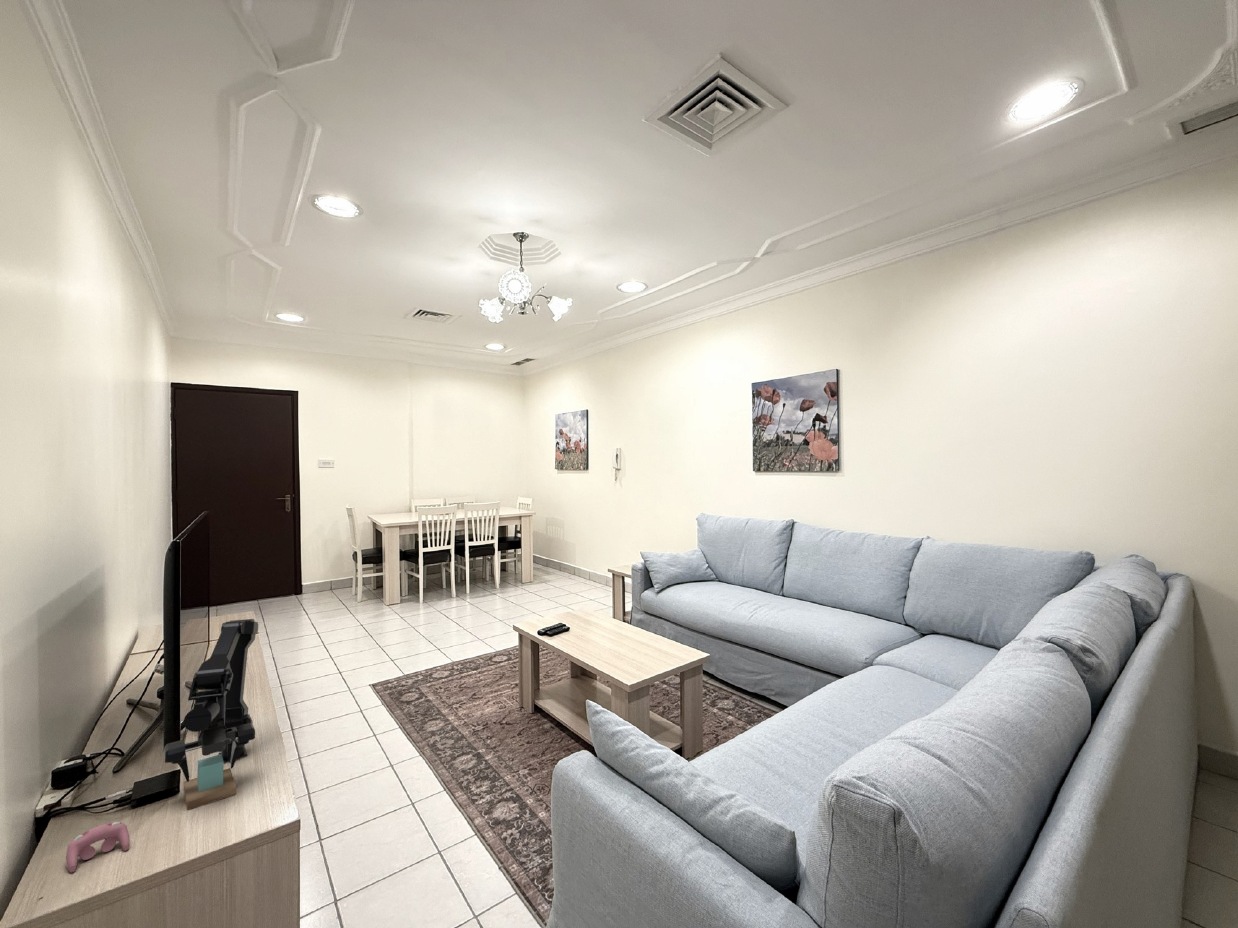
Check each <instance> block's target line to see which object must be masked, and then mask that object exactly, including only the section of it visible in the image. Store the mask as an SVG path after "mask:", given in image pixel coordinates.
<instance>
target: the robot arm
mask: <svg viewBox="0 0 1238 928" xmlns="http://www.w3.org/2000/svg"><path fill="white" fill-rule="evenodd" d="M258 632H259V622H258V621H255V619H254V618H249V619H248V618H247V619H246V618H244V619H234V620H233V619H232V620H228V621H225V622H222V623H221V628H220V635H219V637H218V639H217V641H216V644H215V645H214V648H213V650H212V652H211V656H210V657H209V658H208V659H206V660H205V661H203V662H202V663H201V664H200V666H199V668H198V670H197V671H196V672H195V673H194V675H193V678H192V682H191V686H190V690H189V694H188V698H187V701H195V702H194V703H193V707H192V708H191V709H190V710H189V711H188V712H187V713H186V715H185V717H184V719H183V726H184V728H185V729H186V730H188V731H190V732H196V733H197V740H195V741H191V742H188V743H186V742H185V739H181V740H177V741H173V742H172V741H171V742H169V743H166V744H165V745H164V748H163V757H164V763H166V764H167V763H169V764H170V763H171V764H172V765H176V764H177V765H178V766H179V768H180V769H181V770H182V774H183V775H184V778H185V781H187V782H188V781H189V780H190V772H189V765H188V759H187V752H191V751H194V750H197V749H201V755H202V756H203V757H207V756H209V755H211V754H214V753H217V755H220V754H221V755H222V758H223V761H224V763H226V762H227V763H228V762H229V763H230V769H231V770H232V769H233V768H234V766H235V763H236V761H237V759H240V758H241V759H242V758H244V757H248V755H249V754H248V750H246V746H245V745H248V744H249V742H250V741H252V740H254V739H256V729H255V726H254V725H253V719H252V717H251V715H250V713H249V706H248V705H247V703H246V702H245V700H244V693H245V682H246V674H247V673H246V672H247V671H246V670H247V664H248V663H247V660H248V650H249V648H250V647H251V646H252V644H253V643H254V641H255V640H256V635H257V634H258ZM197 690H198V691H197Z"/></svg>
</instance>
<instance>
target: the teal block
mask: <svg viewBox="0 0 1238 928" xmlns="http://www.w3.org/2000/svg"><path fill="white" fill-rule="evenodd" d="M224 763H225V762H224V761H223V758H222V755H221V754H220V755H218V754H217V755H214V756H210V757H209V756H208V757H206V758H202V759H199V760H197V770H196V771H197V772H196V774H197V775H196V778H197V785H198V790H199V792H201V791H204V790H207V789H210V788H213V787H217V786H220V785H223V770H224V767H225V766H224V765H225V764H224Z"/></svg>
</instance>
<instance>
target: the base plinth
mask: <svg viewBox="0 0 1238 928" xmlns="http://www.w3.org/2000/svg"><path fill="white" fill-rule="evenodd" d="M183 794H184V799H185V805H186V811H189V810H192V809H196V808H198V807H201V806H205V805H208V804H211V803H214V802H217V801H219V800H223V799H227V798H229V797H232V796H235V795H237V783H236V781H235V778H234V775H233V772H232V769H231V767H229V768H225V769H223V785H220V786H217V787H213V788H210V789H207V790H204V791H201V792H199V790H198V785H197V777H195V778H191V779H189V781H188V782H187V781H186V780H185V781H183Z"/></svg>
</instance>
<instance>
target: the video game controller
mask: <svg viewBox="0 0 1238 928" xmlns="http://www.w3.org/2000/svg"><path fill="white" fill-rule="evenodd" d="M102 840H104V841H103V842H102V843H101V845H100V850H101V852H103V853H108V852H110V851H112V850H113V848H114V847H115V846H116V843H117V842H118V843H119V844H120V847H121V849H122V851H124V852H126V851H128V849H130V841H131V839H130V834H129V829H128V826H127V825H126V824H125V823H124V822H119V821H118V822H117V821H115V822H109V823H105V824H101V825H99V826H98V825H97V826H96V827H93V828H91V829H88V830H87V831H84V832H83V833H81V834H79V835H77V836H76V837H75V838H73V840H71V841H70V842H69V843H68V845H67V848H66V854H65V859H66V860H65V861H66V867H67V869H68V872H69V873H74V872H75V871H76V869H77V865H78V857H79V858H80V859H81V860H82V861H86V860H89V859H91V858H92V857H94V855H95V854H96V848H95V847H94V846H92V845H93V844H95V843H97V842H99V841H102Z"/></svg>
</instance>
